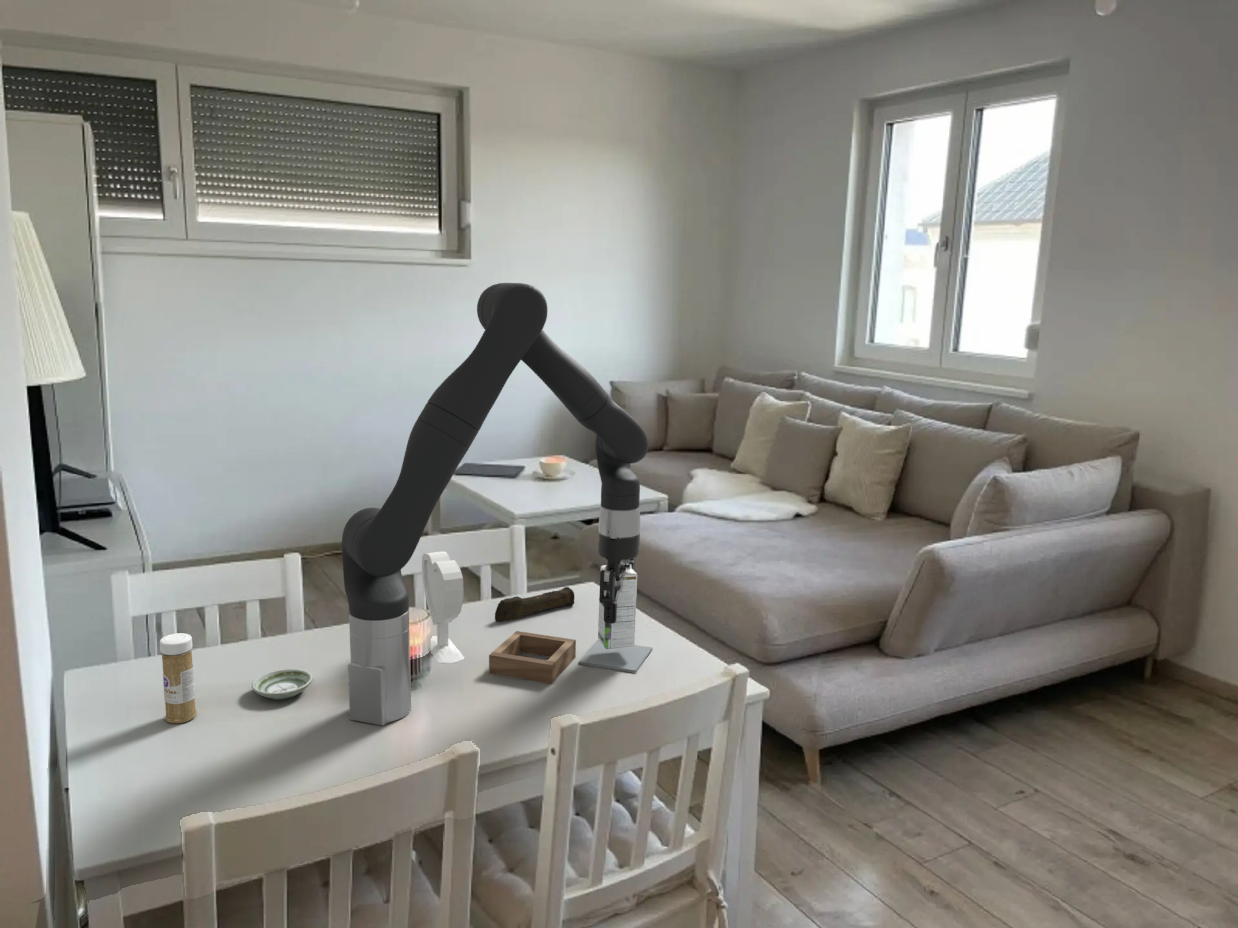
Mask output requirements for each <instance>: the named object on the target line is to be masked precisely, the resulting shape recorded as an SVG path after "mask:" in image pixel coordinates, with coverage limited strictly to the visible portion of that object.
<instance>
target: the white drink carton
mask: <svg viewBox="0 0 1238 928" xmlns="http://www.w3.org/2000/svg"><path fill="white" fill-rule="evenodd" d="M606 566H607V564H606V565H605V564H603V565H601V566H600V571H601V570H605V567H606ZM621 574H624V573H620V576H621ZM619 580H620V579H619ZM618 585H619V581H615V586H618ZM637 588H638V573H637V572H636V570H635V571H634V570H633V569H630V570H629V569H627V572H626V573H625V576H624V577H623V588H622V592H620V593H619V594H618V599H617V618H616V622H615V623H606V622H604V603H600V602H599V603H598V622H597V624H598V626H597V627H598V629H597V630H598V631H597V640H600V642H601V643H602V644H603V646H604V647H605V649H614V648H624V647H633V646H634V645H635V636H636V635H635V633H636V613H637V592H638V591H637V590H638V589H637ZM608 597H610V592H609V591H608Z"/></svg>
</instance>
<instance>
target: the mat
mask: <svg viewBox="0 0 1238 928" xmlns="http://www.w3.org/2000/svg"><path fill="white" fill-rule="evenodd" d="M652 651H653V647H650V646H644V645H637V644H634V646H633V647H624V648H614V649H605V647H604V646H603V644H602V643H601V642H600V640H599V639H597V640H596V641H595V642H594V643H593V644H592V645H591V647H590V648H589V649H588V650H587V651H586V652H585V654H583V656H581V658H580V659H579V660H578V665H583V666H590V667H596V668H602V669H609V670H614V671H619V672H620V671H622V672H628V673H634V674H636V673H638V671H639V670H640V668H641V667H642V665H643V664H644V663H645V662H646V659H647V658H648V657H649V655H650V654H651V652H652Z"/></svg>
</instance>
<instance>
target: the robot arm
mask: <svg viewBox="0 0 1238 928" xmlns="http://www.w3.org/2000/svg"><path fill="white" fill-rule="evenodd" d="M476 313H477V318H478V322H479V323H480V325H481V327H482V328H483V329H484V331H483V333H482V335H481V337H480V338H479V341H478V343H477V344H476V346H475V347H474V348H473V350H472V351H471V353H470V354H469V356H467V358H465V360H464V361H463V362H462V363H461V364H460V365H459V366H458V367H457V368H456V369H454V371H452V372H451V373H450V375H449V376H447V377H446V378H445V379H444V380H443V381H442V383H441V384H439V386H438V387H437V388H436V389H435V390H434V391H433V393H432V394H431V396H430V397H429V399H428V400H427V403H426V404H425V405H424V407H423V409H422V410H421V411H420V413H419V416H418V417H417V419H416V421H415V423H414V424H413V426H412V429H411V431H410V434H409V437H408V440H407V444H406V448H405V451H404V457H403V460H402V465H401V467H400V468H401V469H400V472H399V475H398V478H397V480H396V482H395V484H394V487H393V489H392V490H391V492H390V494H389V495H388V497H387V498H386V500H385V502H384V503H383V505H382V507H381V508H378V507H366V508H363V509H360V510H359V511H357V512H355V513H353V515H352V516H351V517H350V518H349V519H348V520H347V522H346V523H345V524H344V525H345V526H344V529H343V531H342V537H341V556H342V557H341V558H342V570H343V571H342V572H343V585H344V591H345V595H346V599H347V602H348V622H349V649H350V654H349V655H350V662H349V663H348V664H347V671H348V673H347V676H348V677H347V678H348V698H349V699H348V703H349V720H351V721H358V722H360V723H362V722H363V723H367V724H373V725H377V726H385V725H386V724H389V723H391V722H395V721H398V720H400V719H402V718H404V717H406V716H407V715H408V714H409V713H410V712H411V710H412V693H411V692H412V689H411V688H412V687H411V686H412V685H411V681H412V680H411V647H410V645H411V643H410V596H409V592H408V590H407V587H406V584H405V581H404V579H403V575H402V569H403V568H404V567H405V566H406V565H407V564H408V563H409V562H410V560H411V559H412V556H413V555H414V552H415V551H416V549H417V547H418V545H419V543H420V540H421V537H422V536H423V533H424V531H425V528H426V526H427V524H428V522H429V520H430V518H431V515H432V513H433V511H434V509H435V507H436V505H437V503H438V501H439V500H440V498H441V496H442V495H443V493H444V491H445V489H446V488H447V486H448V485H449V483H450V481H451V480H452V478H453V476H454V474H455V472H456V471H457V469H458V467H459V465H460V464H461V462H462V460H463V459H464V457H465V456H466V454H467V452H468V451H469V448H471V446H472V444H473V442H474V440H475V439H476V437H477V435H478V433H479V432H480V430H481V428H482V426H483V424H484V422H485V420H486V418H487V417H488V415H489V413H490V411H491V410H492V408H493V406H494V405H495V403H496V401H497V399H498V398H499V395H501V393H502V390H503V389H504V388H505V385H506V384H507V381H508V379H509V378H510V376H511V375H512V374H513V372H514V370H515V369H516V367H517V366H518V365H519V363H520V362H521V361H522V362H523V363H524V365H526V366H527V367H528V368H529V369H530V370H531V371H532V372H533V373H534V374H535V375H536V376H537V377H538V378H539V379H540V380H541V382H543V383H544V384H545V385H546V386H547V388H549V390H550V391H551V392H552V393H553V394H554V396H556V398H557V399H558V400H559V401H560V402H561V403H562V404H563V406H564V407H565V408H566V409H567V410H568V412H569V413H570V414H571V415H572V417H574V418H575V419H576V421H577V422H578V423H579V424H581V426H583V427H585V429H587V430H589V431H591V432H593V433H594V434H595V435H596V436H595V439H594V440H595V441H594V449H595V455H596V456H595V457H596V462H597V469H598V474H599V477H600V482H601V485H600V486H601V488H600V510H599V516H598V517H599V518H598V543H597V545H598V546H597V547H598V555H599V556H600V557H602V558H605V559H606V560H607V563H606V565H607V566H606V567H605V570H601V569H600V573H599V576H600V577H599V599H598V601H599V602H600V603H604V622H606V623H615V622H616V618H617V599H618V594H619V593H620V592H622V588H623V577H624V576H625V573H626V572H627V569H629V570H630V569H633V570H634V571H635V572H636V558H637V557H638V556H639V555H640V544H641V541H640V540H641V539H640V537H641V512H640V495H641V493H640V491H641V486H640V485H641V484H640V480H639V478H638V476H637V475H636V474H635V473H634V472H633V470H632V468H631V464H636V463H638V462H640V461H641V460H643V459H644V458H645V457H646V455H647V453H648V449H649V446H650V445H649V444H650V443H649V438H648V436H647V435H648V434H647V433H646V431H645V430H644V428H643V427H642V426H641V424H640V423H639V422H638V420H635V418H633V417H632V416H631V414H629V413H628V412H627V411H626V410H624V409H623V408H622V407H621V406H619V405H618V404H617V403H616V402H615V401H614V400H613V399H612V398H611V396H610V395H609V394H608V392H607V391H606V390H605V389H604V387H602V385H601V384H600V383H599V381H597V379H596V378H595V377H594V375H592V374H591V372H589V371H588V370H587V369H586V368H585V367H584V366H583V365H582V364H580V363H579V361H577V360H575V358H573V357H572V356H571V355H570V354H568V353H567V352H566V351H565V350H564V349H562V348H561V347H560V346H559V345H558V344H557V343H556V342H554V341H553V339H552V338H550V336H549V335H548V334H547V333H546V332H545V330H544V327H545V324H546V322H547V318H548V302H547V300H546V297H545V295H544V294H543V292H542V291H541V290H540V289H539V288H537V287H535V285H534V286H533V285H531V284H527V283H522V282H499V283H495V284H492V285H490V286H489V287H487V288H486V289H484V290H483V291H482V292H481V293H480V296H479V298H478V300H477V304H476ZM620 573H624V574H621V576H620ZM619 579H620V580H619ZM615 581H619V585H618V586H615ZM608 591H609V592H610V597H608Z"/></svg>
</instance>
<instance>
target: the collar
mask: <svg viewBox="0 0 1238 928" xmlns="http://www.w3.org/2000/svg"><path fill="white" fill-rule="evenodd" d="M576 652H577V640H576V639H573V638H572V639H571V638H567V637H566V638H565V637H560V636H553V635H546V634H539V633H533V632H526V631H519V630H516V631H515V632H514V633H512V634H511V635H510V636H509V637H508V638H507V639H505V640H504V641H503V642H502V643H501V644H500V645H499V646H497V648H495V649H494V650H493V651H492V652H491V653H489V655H488V673H489V674H491V675H496V676H501V677H509V678H515V679H521V680H527V681H532V682H538V683H545V684H550V685H552V684H553V683H555V681H556V680H557V679H558V678H559V677H560V676H561V675H562V673H563V672H564V671H566V669H568V667H569V665H570V664H571V663H572V662H573V661H574V660H575V659H576ZM520 653H523V654H528V655H537V656H542V657H547V658H548V659H547V660H546V659H539V658H534V657H528V656H527V657H526V656H523V655H522V656H521V655H519V654H520Z"/></svg>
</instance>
